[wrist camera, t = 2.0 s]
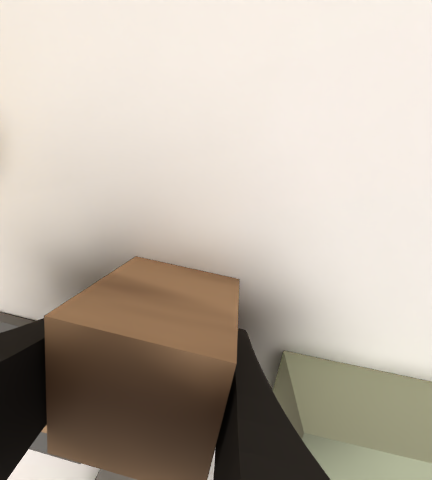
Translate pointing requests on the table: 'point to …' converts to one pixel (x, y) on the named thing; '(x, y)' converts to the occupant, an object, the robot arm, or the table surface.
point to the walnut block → (142, 370)
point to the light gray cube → (111, 476)
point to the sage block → (358, 418)
